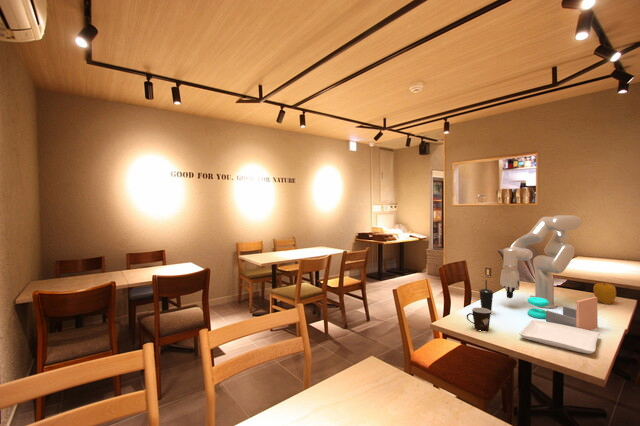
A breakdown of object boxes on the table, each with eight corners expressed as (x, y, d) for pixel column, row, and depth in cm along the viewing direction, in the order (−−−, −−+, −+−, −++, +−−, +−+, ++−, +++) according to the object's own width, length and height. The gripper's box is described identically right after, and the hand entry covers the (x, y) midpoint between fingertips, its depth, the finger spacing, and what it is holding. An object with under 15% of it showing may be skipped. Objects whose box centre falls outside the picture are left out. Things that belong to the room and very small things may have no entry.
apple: (593, 299, 206) (593, 280, 206) (616, 302, 199) (616, 282, 198) (592, 303, 198) (592, 283, 198) (616, 306, 191) (616, 285, 191)
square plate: (600, 339, 147) (600, 331, 147) (594, 360, 128) (594, 351, 127) (532, 324, 166) (532, 317, 166) (518, 341, 147) (518, 332, 147)
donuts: (535, 301, 172) (523, 296, 182) (535, 319, 173) (523, 313, 183) (553, 301, 173) (540, 296, 183) (553, 319, 173) (540, 313, 183)
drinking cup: (493, 312, 185) (492, 279, 185) (494, 316, 178) (494, 282, 178) (478, 310, 189) (478, 278, 188) (479, 314, 182) (479, 280, 181)
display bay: (546, 323, 166) (545, 294, 166) (564, 318, 173) (564, 290, 172) (579, 334, 152) (578, 301, 152) (597, 328, 159) (597, 297, 159)
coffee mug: (489, 327, 163) (489, 308, 163) (492, 333, 155) (492, 313, 155) (465, 324, 167) (464, 306, 167) (467, 331, 159) (466, 311, 159)
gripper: (495, 266, 197) (494, 295, 197) (518, 270, 184) (517, 301, 184) (503, 265, 200) (502, 294, 200) (526, 270, 187) (525, 300, 187)
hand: (509, 297), depth 192 cm, fingers closed
